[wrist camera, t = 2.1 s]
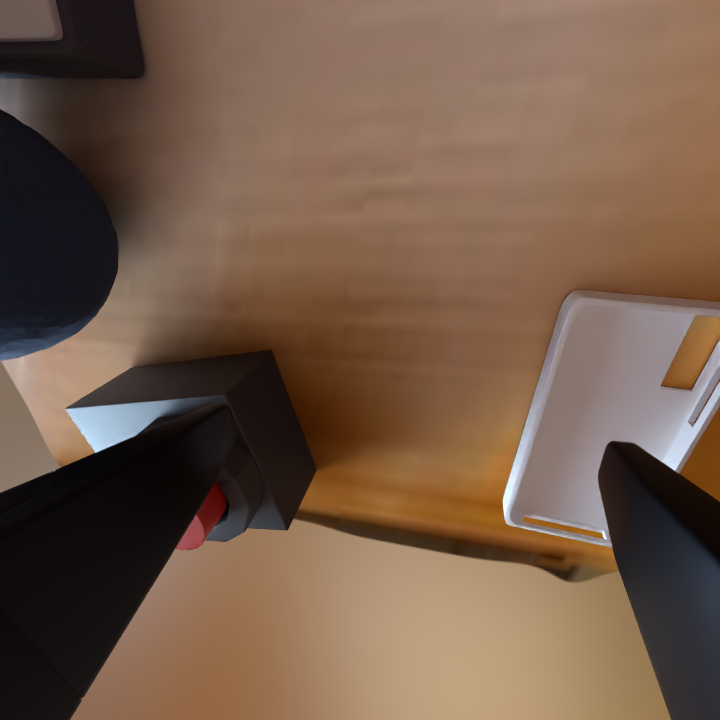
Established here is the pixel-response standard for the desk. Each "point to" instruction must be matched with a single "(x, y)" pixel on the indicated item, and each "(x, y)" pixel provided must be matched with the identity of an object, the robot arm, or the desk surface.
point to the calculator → (69, 39)
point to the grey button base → (252, 418)
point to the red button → (204, 519)
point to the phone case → (606, 405)
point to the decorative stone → (48, 244)
